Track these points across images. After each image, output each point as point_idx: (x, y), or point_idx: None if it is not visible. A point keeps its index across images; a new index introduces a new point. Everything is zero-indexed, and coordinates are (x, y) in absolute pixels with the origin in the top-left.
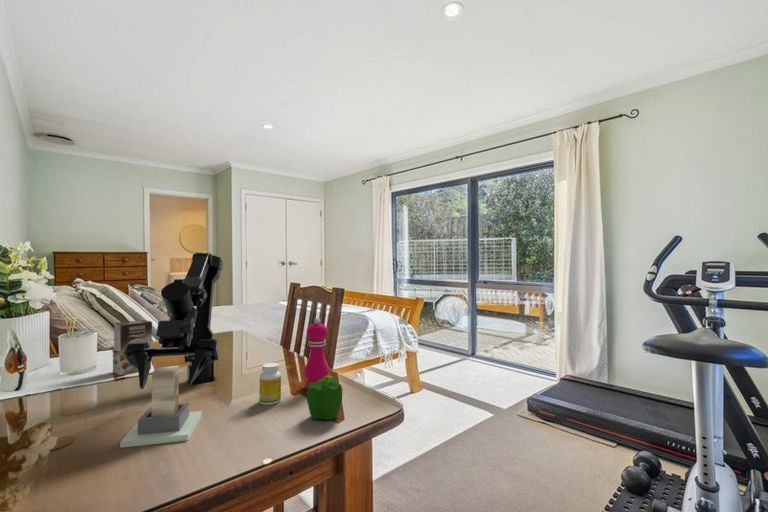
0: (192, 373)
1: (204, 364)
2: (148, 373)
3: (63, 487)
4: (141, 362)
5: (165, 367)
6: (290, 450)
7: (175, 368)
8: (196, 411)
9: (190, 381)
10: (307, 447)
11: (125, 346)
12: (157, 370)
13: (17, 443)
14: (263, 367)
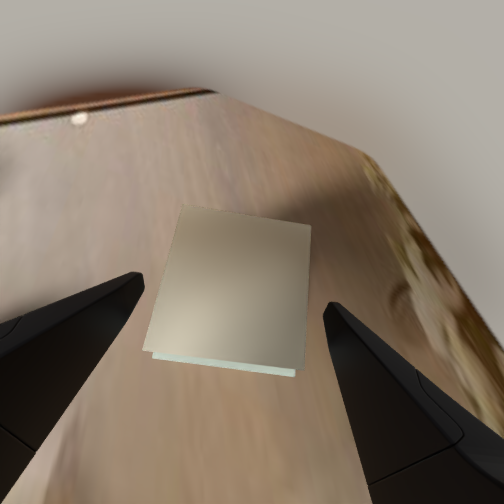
0: (85, 296)
1: None
2: (360, 454)
3: (330, 164)
4: (502, 464)
5: (246, 327)
6: (33, 128)
7: (169, 263)
8: (166, 359)
9: (125, 274)
10: (2, 125)
11: None
12: (288, 261)
13: (485, 342)
14: None
